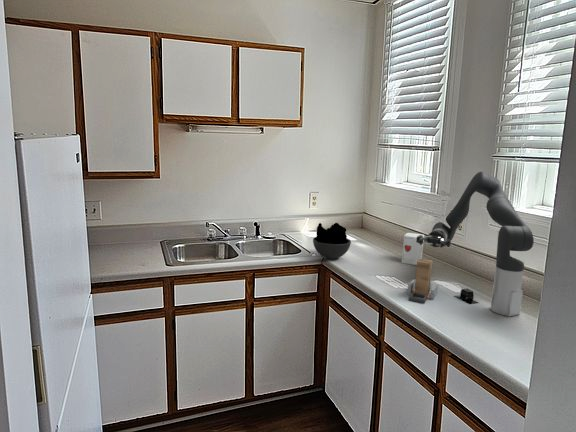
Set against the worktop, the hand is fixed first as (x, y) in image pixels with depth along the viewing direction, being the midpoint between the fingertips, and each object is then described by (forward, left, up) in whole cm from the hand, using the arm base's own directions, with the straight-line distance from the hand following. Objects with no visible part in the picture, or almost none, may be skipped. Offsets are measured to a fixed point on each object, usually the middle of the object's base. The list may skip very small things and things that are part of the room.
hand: (430, 243), depth 182 cm
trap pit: (-10, +14, -20) cm, 26 cm away
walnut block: (-6, +8, -19) cm, 22 cm away
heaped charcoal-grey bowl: (+54, +16, -20) cm, 60 cm away
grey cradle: (-5, +7, -20) cm, 22 cm away
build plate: (-17, -6, -21) cm, 27 cm away
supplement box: (+33, -21, -20) cm, 44 cm away
